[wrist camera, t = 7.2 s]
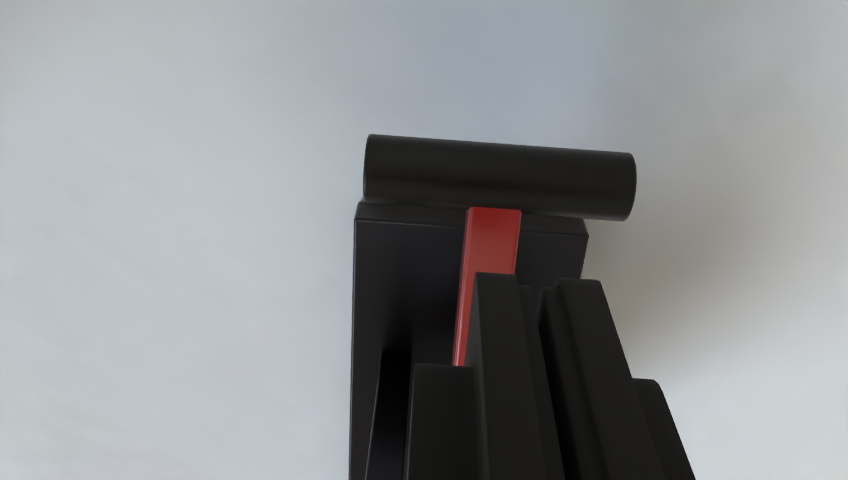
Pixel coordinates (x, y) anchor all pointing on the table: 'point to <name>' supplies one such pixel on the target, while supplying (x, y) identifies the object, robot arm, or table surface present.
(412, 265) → the black lever base
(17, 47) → the table surface
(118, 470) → the table surface
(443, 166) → the red lever handle
